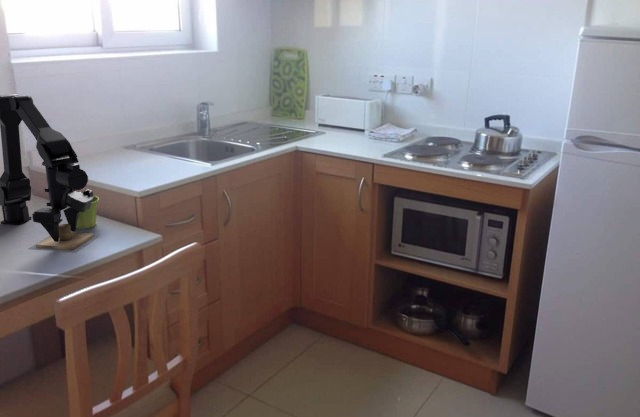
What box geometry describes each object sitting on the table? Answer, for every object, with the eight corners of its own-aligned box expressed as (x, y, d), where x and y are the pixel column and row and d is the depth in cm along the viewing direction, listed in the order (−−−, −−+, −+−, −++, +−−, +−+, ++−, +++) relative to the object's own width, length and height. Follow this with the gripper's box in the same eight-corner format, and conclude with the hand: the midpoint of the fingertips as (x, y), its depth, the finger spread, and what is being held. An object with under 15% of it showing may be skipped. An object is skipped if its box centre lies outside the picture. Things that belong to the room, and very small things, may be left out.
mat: (28, 250, 158) (27, 248, 158) (57, 232, 171) (57, 231, 171) (75, 254, 157) (75, 252, 156) (101, 236, 170) (101, 234, 170)
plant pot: (107, 222, 182) (104, 195, 179) (92, 232, 173) (90, 204, 170) (78, 220, 182) (75, 194, 180) (63, 230, 173) (59, 203, 171)
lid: (36, 247, 159) (34, 230, 158) (58, 233, 170) (56, 218, 168) (73, 250, 158) (71, 233, 157) (93, 236, 168) (92, 220, 167)
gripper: (67, 194, 149) (73, 250, 154) (103, 176, 166) (108, 227, 171) (27, 191, 150) (35, 247, 155) (67, 174, 168) (73, 224, 173)
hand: (65, 236), depth 163 cm, fingers open, 8 cm apart
